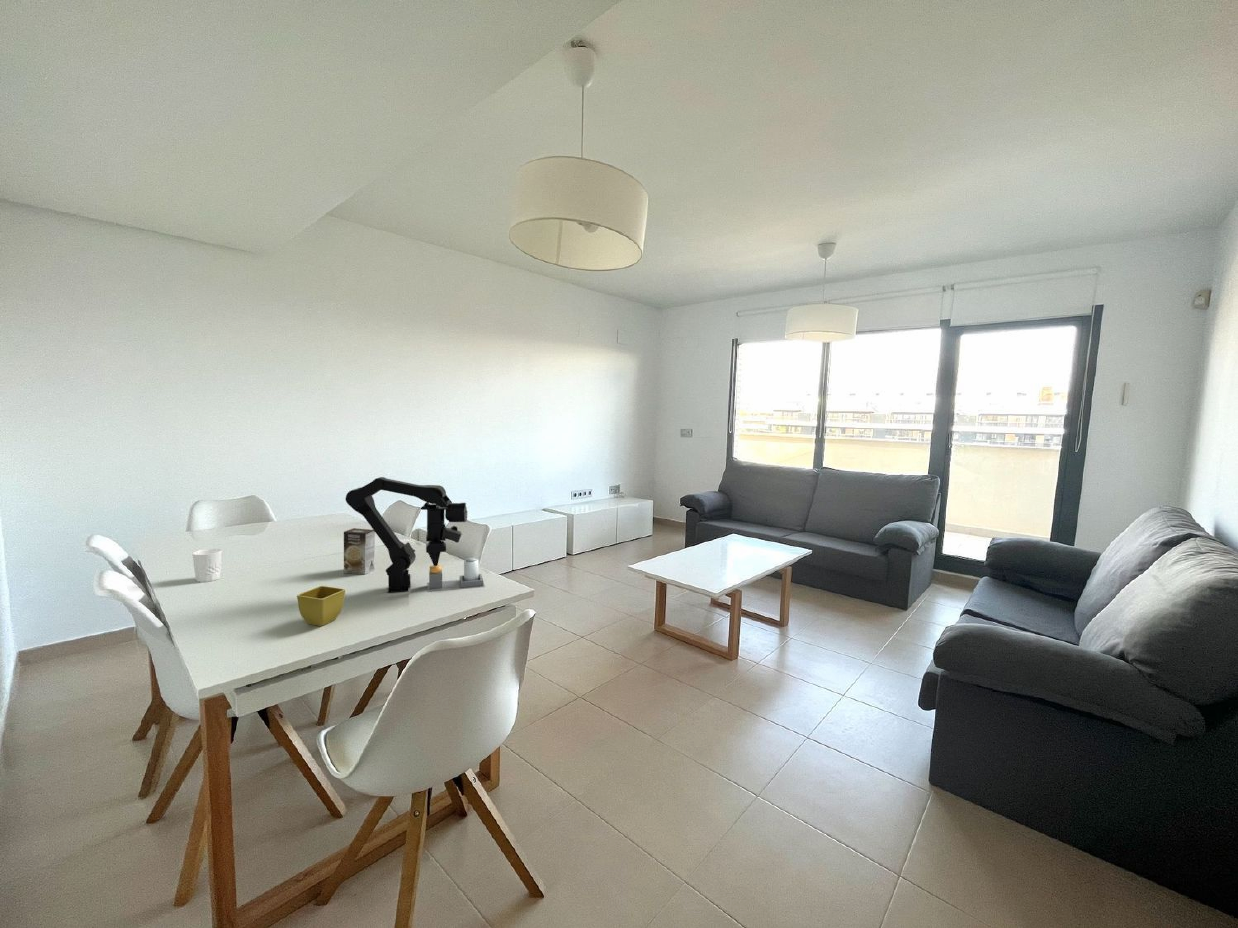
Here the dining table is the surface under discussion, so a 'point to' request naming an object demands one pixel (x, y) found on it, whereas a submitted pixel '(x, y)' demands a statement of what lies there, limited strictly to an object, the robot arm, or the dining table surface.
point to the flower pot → (321, 604)
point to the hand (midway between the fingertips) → (435, 565)
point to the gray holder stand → (451, 583)
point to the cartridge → (471, 569)
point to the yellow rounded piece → (435, 569)
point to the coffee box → (359, 551)
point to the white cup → (207, 564)
